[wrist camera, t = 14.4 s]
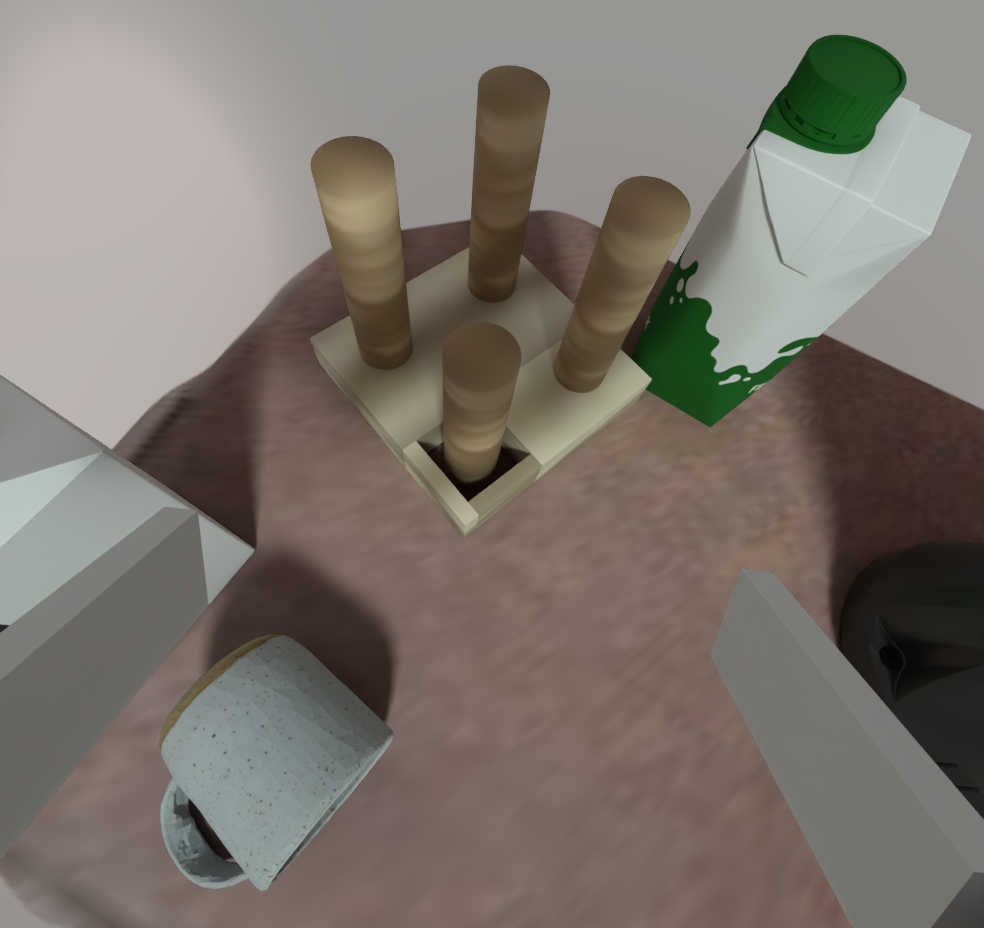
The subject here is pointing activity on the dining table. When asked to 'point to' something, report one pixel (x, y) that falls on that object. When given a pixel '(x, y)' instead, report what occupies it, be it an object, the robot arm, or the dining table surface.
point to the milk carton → (77, 506)
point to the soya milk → (799, 227)
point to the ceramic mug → (262, 760)
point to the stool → (487, 299)
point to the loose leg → (476, 400)
